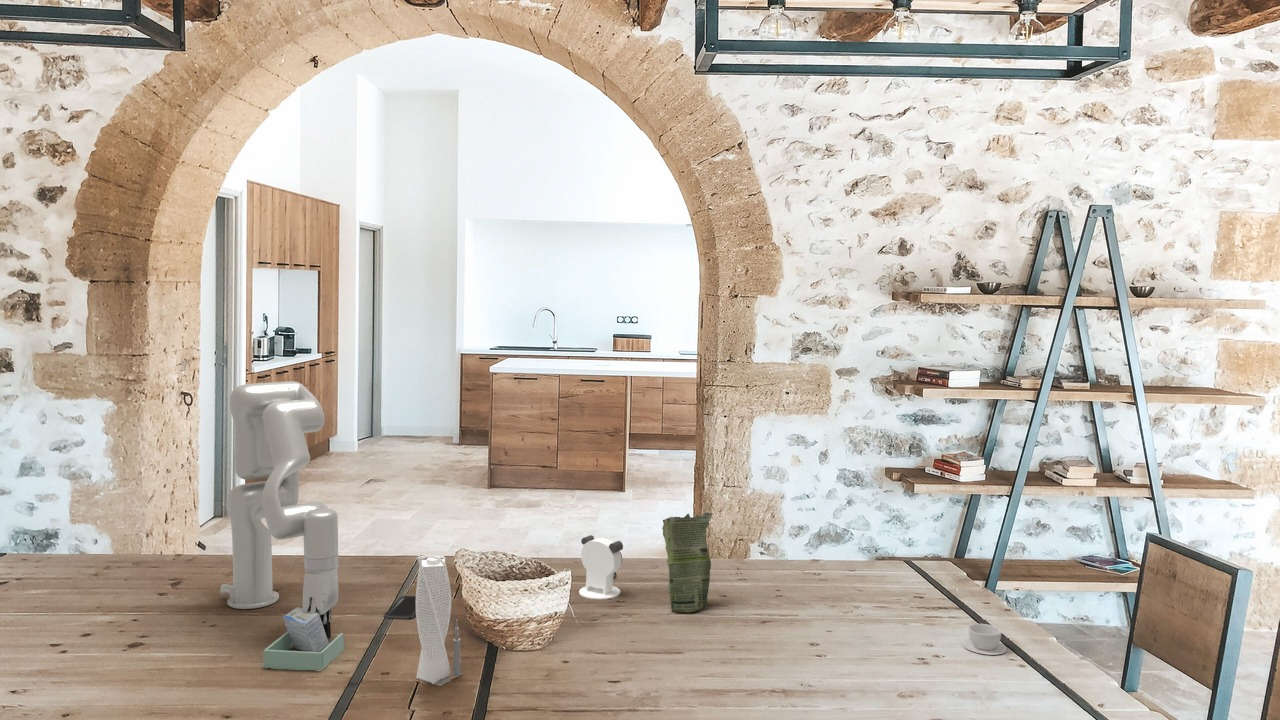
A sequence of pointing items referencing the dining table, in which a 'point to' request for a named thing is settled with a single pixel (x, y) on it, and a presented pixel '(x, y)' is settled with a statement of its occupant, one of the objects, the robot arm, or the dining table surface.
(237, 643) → the dining table surface
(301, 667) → the box
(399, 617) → the phone
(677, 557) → the pouch
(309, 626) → the medicine box
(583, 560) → the panda figurine
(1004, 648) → the teacup
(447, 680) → the skyscraper
